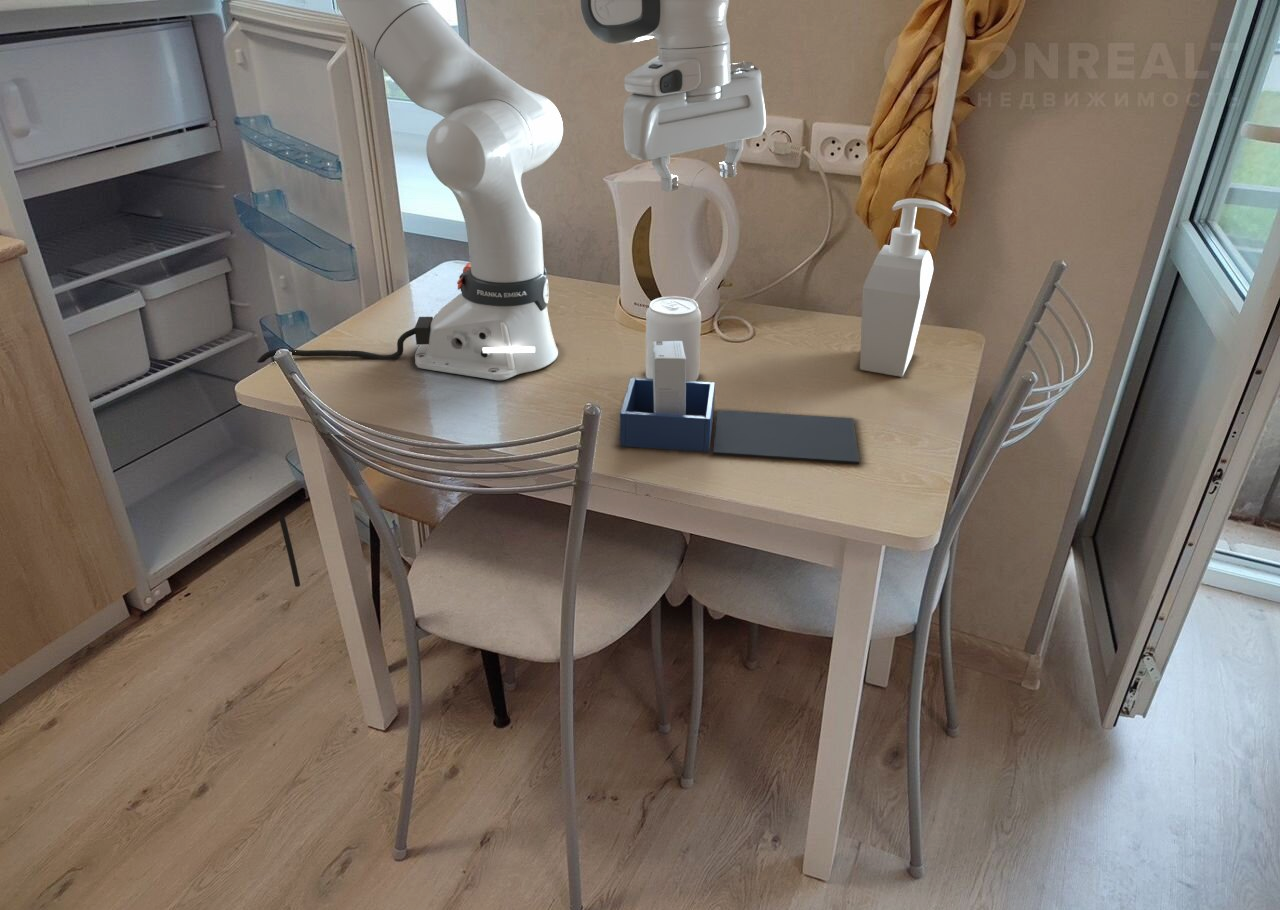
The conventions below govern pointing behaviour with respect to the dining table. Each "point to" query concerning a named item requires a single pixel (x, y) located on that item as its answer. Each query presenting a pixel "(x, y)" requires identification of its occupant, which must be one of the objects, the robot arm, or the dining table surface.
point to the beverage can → (674, 330)
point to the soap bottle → (896, 295)
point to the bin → (667, 418)
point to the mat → (785, 437)
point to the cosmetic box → (669, 377)
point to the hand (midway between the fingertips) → (699, 183)
